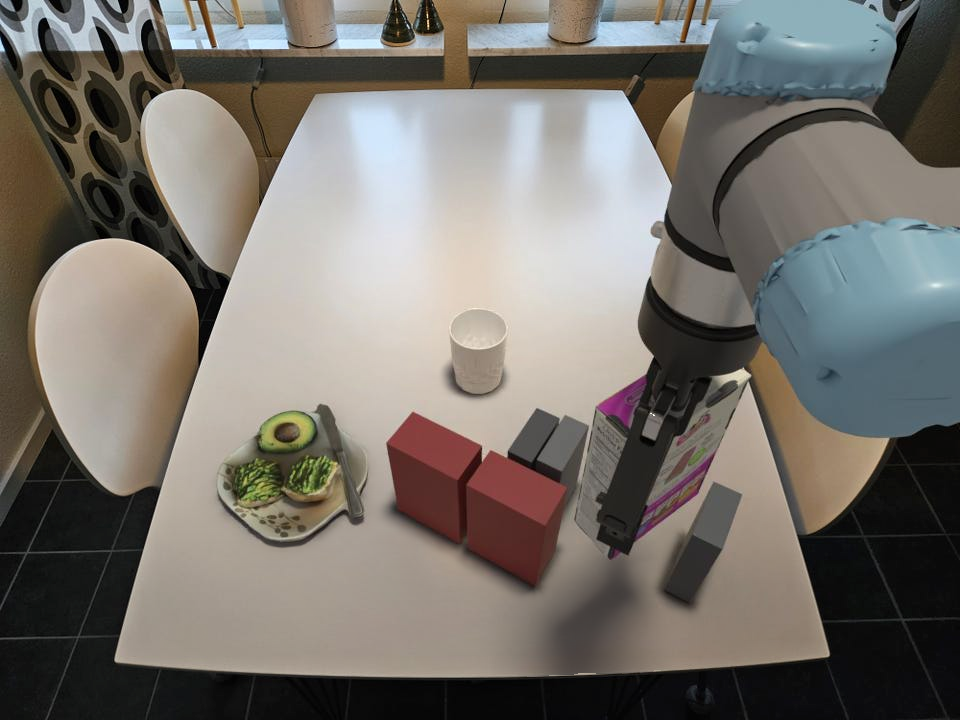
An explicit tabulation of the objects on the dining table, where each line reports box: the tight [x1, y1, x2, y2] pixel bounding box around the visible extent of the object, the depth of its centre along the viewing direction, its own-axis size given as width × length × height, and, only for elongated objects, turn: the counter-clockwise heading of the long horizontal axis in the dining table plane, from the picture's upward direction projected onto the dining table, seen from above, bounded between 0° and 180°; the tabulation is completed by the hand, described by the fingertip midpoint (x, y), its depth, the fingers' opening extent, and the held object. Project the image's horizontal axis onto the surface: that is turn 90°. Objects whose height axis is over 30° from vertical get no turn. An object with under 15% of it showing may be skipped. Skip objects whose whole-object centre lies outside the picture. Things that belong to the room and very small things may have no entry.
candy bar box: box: [573, 368, 752, 561], centre depth 51 cm, size 11×5×16 cm, turn 126°
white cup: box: [448, 307, 509, 395], centre depth 90 cm, size 8×8×10 cm
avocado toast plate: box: [216, 403, 369, 543], centre depth 80 cm, size 19×18×5 cm
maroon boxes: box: [385, 411, 567, 587], centre depth 72 cm, size 5×19×14 cm, turn 59°
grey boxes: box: [506, 407, 743, 604], centre depth 73 cm, size 7×24×13 cm, turn 59°
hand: (642, 484), depth 54 cm, fingers closed on candy bar box, 12 cm apart
